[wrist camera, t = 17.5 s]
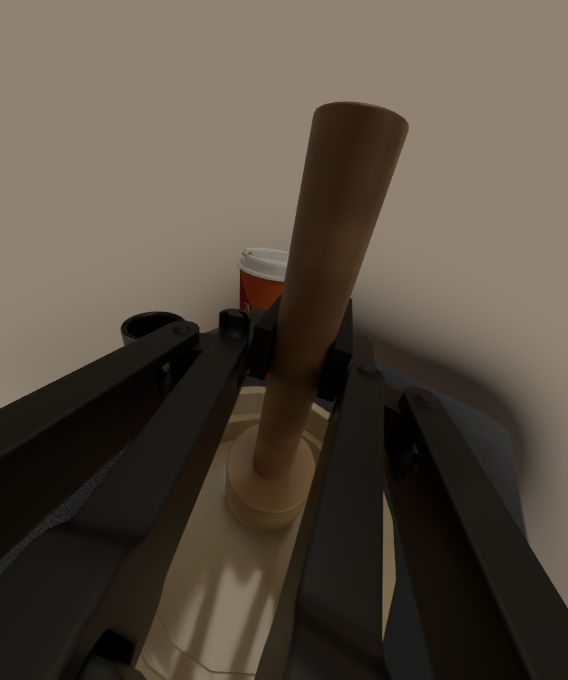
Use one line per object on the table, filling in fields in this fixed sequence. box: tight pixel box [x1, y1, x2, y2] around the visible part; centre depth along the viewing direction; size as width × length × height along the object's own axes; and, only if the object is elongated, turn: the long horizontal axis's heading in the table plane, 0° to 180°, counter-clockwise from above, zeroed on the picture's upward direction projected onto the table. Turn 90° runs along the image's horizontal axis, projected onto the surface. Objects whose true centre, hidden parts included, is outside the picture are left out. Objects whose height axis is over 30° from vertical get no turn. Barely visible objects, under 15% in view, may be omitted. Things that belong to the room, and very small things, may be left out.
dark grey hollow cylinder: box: [121, 312, 185, 370], centre depth 20 cm, size 4×4×10 cm
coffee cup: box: [237, 247, 289, 378], centre depth 28 cm, size 8×8×15 cm
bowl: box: [135, 386, 396, 680], centre depth 15 cm, size 16×16×6 cm
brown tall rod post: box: [225, 102, 409, 532], centre depth 11 cm, size 6×6×20 cm
